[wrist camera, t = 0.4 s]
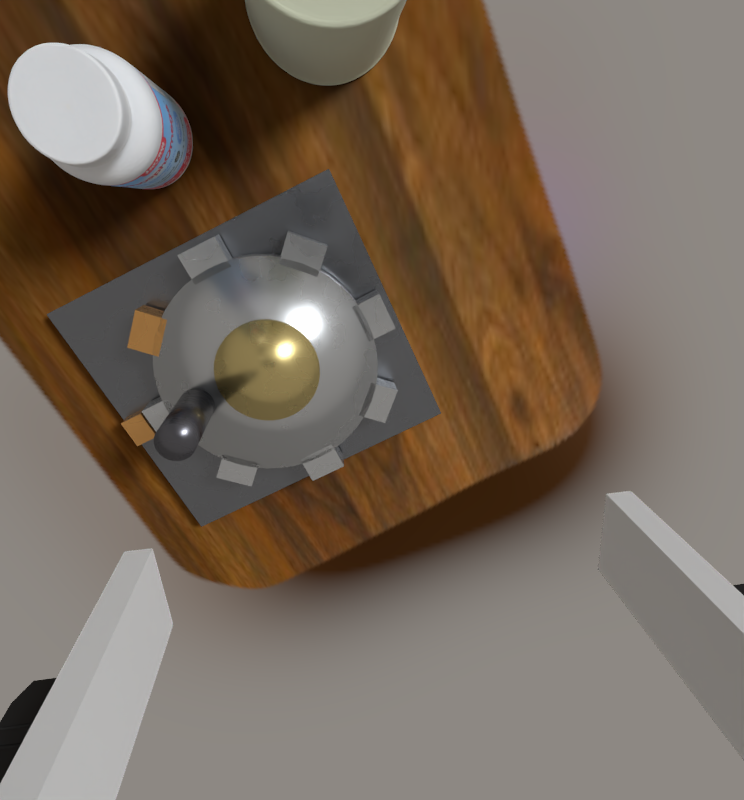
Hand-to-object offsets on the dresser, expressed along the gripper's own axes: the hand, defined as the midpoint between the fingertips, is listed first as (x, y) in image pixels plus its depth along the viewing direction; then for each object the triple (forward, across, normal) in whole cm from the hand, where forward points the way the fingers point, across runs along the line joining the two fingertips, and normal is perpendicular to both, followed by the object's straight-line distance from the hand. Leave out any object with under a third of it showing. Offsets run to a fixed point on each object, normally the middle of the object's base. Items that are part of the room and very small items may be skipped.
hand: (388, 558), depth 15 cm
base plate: (+25, -5, -1) cm, 26 cm away
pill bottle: (+25, -11, +14) cm, 31 cm away
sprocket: (+24, -5, -1) cm, 24 cm away
